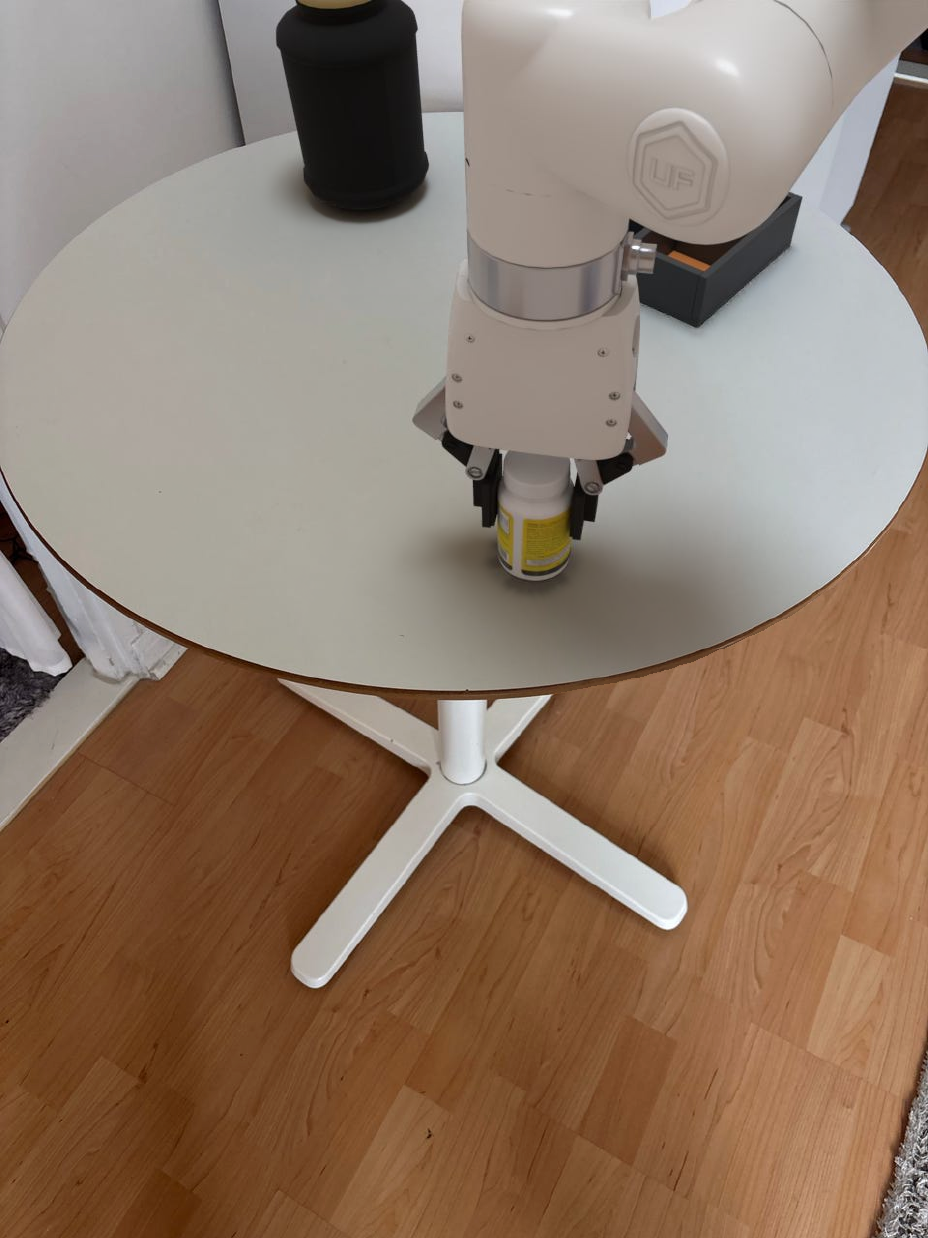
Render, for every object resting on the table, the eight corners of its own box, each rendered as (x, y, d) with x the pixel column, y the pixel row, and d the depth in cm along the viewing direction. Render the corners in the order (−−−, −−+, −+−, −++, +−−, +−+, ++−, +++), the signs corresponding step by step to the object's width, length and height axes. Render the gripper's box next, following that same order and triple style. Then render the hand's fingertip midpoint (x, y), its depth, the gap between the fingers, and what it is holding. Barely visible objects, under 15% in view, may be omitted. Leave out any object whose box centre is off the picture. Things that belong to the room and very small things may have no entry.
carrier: (790, 245, 85) (803, 196, 82) (697, 327, 79) (706, 278, 75) (648, 189, 91) (654, 141, 88) (551, 262, 85) (553, 213, 81)
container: (280, 181, 94) (240, -32, 80) (388, 143, 98) (368, -67, 83) (341, 239, 88) (310, 19, 73) (454, 196, 92) (445, -21, 77)
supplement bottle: (582, 545, 65) (592, 451, 58) (548, 593, 63) (553, 501, 56) (520, 518, 67) (522, 424, 60) (483, 564, 64) (481, 471, 58)
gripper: (729, 230, 48) (676, 492, 63) (394, 201, 51) (417, 459, 65) (720, 323, 44) (665, 582, 58) (354, 286, 46) (389, 543, 61)
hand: (534, 515), depth 62 cm, fingers closed on supplement bottle, 4 cm apart
